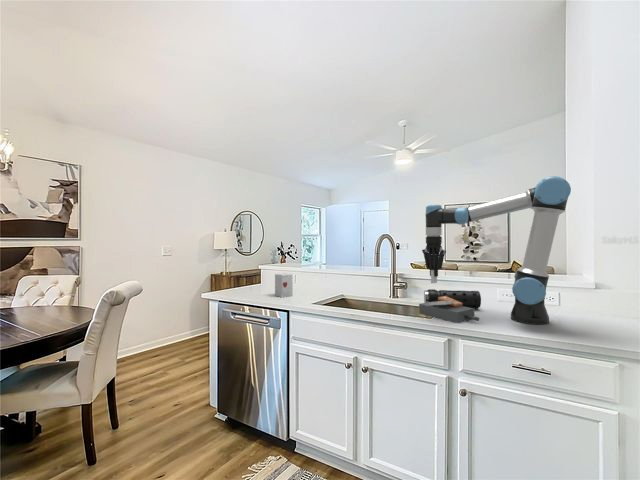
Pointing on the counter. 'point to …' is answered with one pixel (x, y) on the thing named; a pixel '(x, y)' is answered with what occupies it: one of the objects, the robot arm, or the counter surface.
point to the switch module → (448, 312)
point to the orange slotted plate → (445, 298)
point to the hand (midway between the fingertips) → (433, 282)
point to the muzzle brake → (455, 297)
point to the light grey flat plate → (441, 302)
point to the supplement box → (283, 285)
